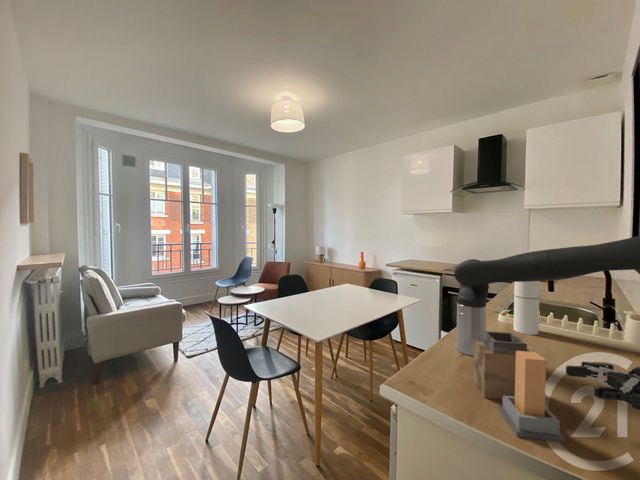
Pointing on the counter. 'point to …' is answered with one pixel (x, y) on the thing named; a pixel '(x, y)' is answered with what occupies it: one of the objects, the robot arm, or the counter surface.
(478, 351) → the square socket base
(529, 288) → the container
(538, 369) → the plug
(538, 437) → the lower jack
